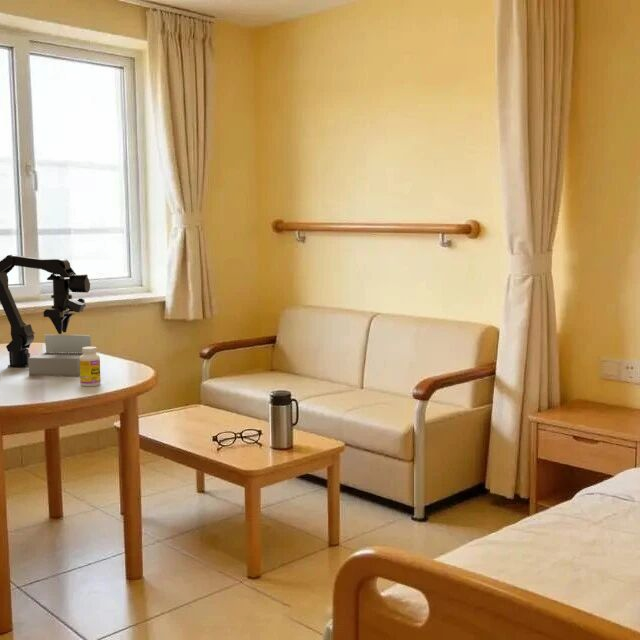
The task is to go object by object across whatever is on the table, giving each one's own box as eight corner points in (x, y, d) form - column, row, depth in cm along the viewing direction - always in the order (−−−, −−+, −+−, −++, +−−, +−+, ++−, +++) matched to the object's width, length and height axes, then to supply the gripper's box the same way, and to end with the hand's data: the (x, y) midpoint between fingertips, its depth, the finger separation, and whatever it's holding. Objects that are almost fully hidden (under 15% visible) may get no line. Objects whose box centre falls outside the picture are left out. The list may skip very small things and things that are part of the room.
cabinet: (29, 375, 279) (28, 357, 279) (46, 367, 293) (45, 351, 292) (77, 376, 278) (76, 358, 277) (92, 368, 291) (91, 352, 291)
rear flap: (44, 334, 291) (48, 332, 294) (46, 352, 292) (50, 349, 296) (90, 335, 289) (93, 332, 293) (91, 352, 291) (95, 350, 294)
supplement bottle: (91, 387, 260) (90, 349, 258) (76, 385, 262) (74, 348, 261) (104, 383, 266) (103, 346, 264) (89, 382, 268) (88, 345, 267)
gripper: (71, 295, 283) (72, 337, 285) (91, 290, 301) (92, 330, 303) (42, 294, 284) (43, 336, 286) (63, 289, 302) (64, 329, 304)
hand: (62, 333), depth 295 cm, fingers open, 4 cm apart
